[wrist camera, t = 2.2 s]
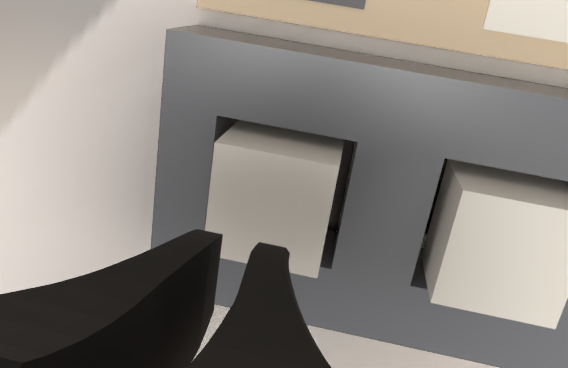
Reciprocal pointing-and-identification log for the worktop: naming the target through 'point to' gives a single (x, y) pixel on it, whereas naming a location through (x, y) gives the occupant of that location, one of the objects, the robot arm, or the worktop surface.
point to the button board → (362, 174)
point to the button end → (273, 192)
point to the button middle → (499, 244)
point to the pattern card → (432, 23)
